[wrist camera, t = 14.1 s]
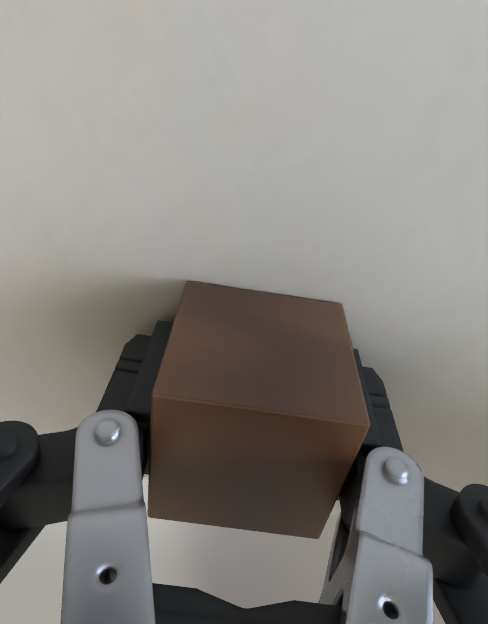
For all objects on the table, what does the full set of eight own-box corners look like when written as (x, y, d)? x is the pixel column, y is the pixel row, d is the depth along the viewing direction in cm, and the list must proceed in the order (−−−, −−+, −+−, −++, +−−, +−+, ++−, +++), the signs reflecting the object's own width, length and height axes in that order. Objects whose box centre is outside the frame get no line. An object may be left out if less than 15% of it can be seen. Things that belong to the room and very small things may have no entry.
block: (177, 392, 15) (146, 518, 11) (186, 279, 12) (150, 394, 9) (307, 410, 15) (319, 540, 11) (342, 303, 12) (371, 425, 9)
